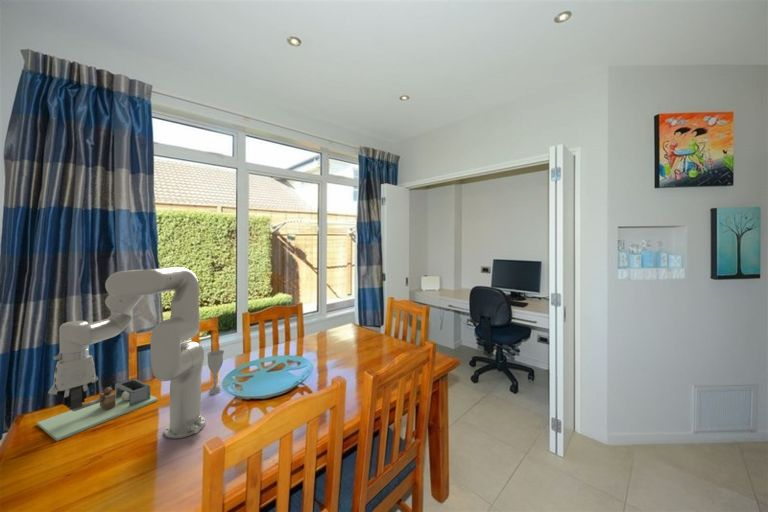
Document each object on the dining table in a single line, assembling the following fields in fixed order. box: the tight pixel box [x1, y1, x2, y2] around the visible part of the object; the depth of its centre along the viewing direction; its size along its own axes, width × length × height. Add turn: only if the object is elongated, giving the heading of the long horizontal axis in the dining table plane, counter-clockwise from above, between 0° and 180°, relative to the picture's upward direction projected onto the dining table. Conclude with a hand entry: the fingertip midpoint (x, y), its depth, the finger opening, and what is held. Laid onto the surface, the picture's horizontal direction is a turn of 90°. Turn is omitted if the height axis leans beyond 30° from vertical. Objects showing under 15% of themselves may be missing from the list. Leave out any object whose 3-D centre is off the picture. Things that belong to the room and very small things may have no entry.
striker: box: [66, 386, 115, 411], centre depth 114 cm, size 5×12×12 cm, turn 153°
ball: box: [122, 391, 129, 400], centre depth 124 cm, size 4×4×4 cm
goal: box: [114, 378, 151, 406], centre depth 126 cm, size 13×7×7 cm, turn 63°
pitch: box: [36, 394, 159, 442], centre depth 117 cm, size 18×30×1 cm, turn 153°
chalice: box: [206, 349, 225, 395], centre depth 135 cm, size 7×7×18 cm
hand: (74, 403), depth 110 cm, fingers closed on striker, 3 cm apart
